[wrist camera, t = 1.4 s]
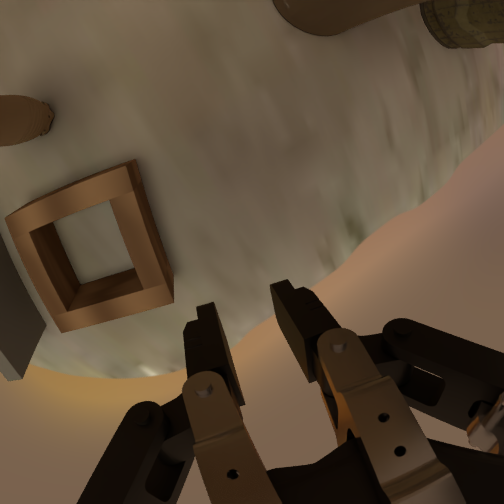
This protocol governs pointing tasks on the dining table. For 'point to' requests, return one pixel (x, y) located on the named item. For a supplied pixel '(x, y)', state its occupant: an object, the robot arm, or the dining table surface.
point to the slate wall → (16, 321)
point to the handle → (22, 119)
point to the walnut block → (60, 270)
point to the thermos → (465, 22)
